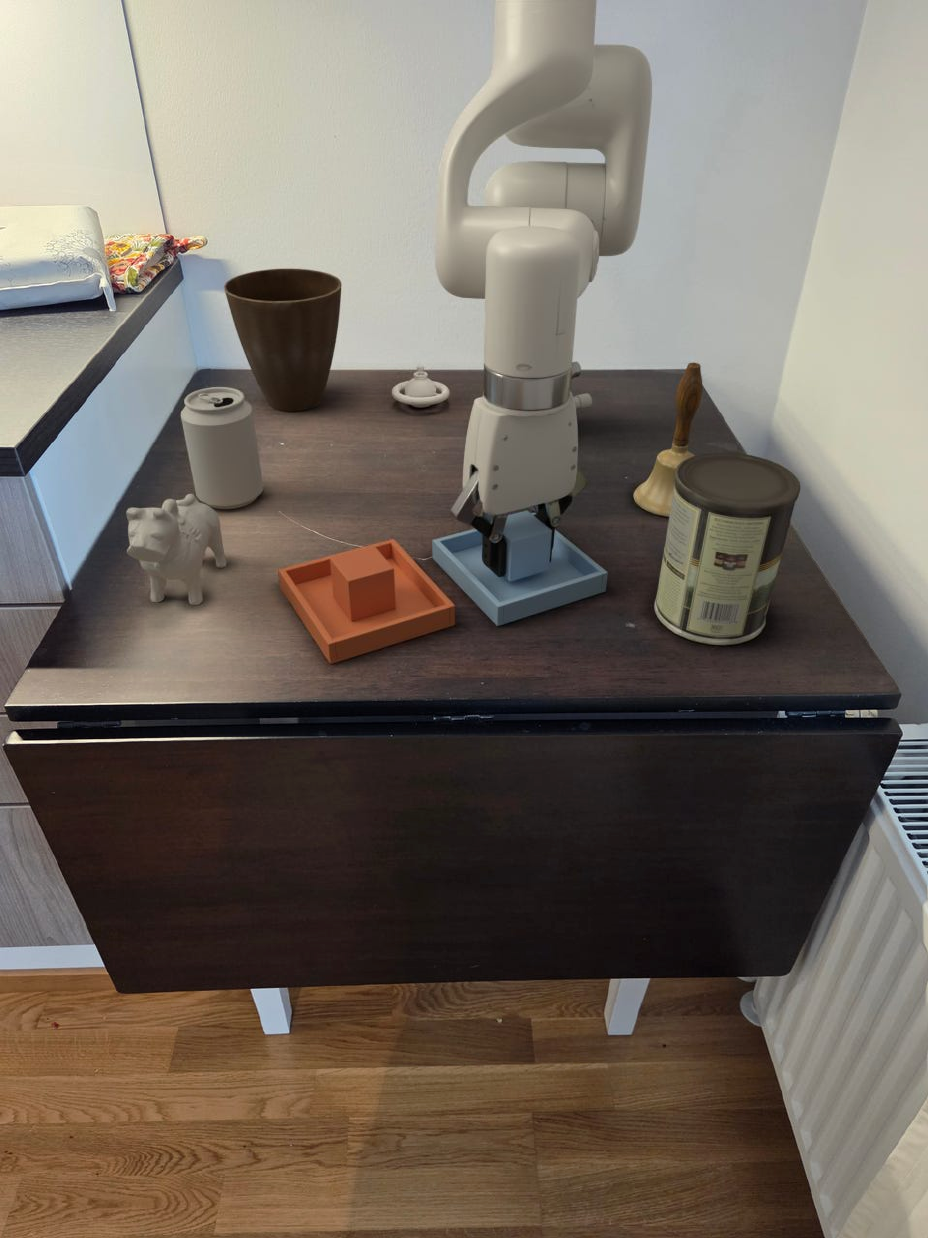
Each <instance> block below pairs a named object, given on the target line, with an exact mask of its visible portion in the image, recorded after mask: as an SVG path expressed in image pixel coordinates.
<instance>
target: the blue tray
mask: <svg viewBox="0 0 928 1238" xmlns="http://www.w3.org/2000/svg"><path fill="white" fill-rule="evenodd" d="M530 513H531V514H532V515H535V514H537V513H536V512H530ZM431 542H432V543H431V545H432V549H431V551H432V559H433V561H435V563H436V564H437V565H438V566H439V567H440V568H441V569H442V570H443V571H444V572H445V573H446V575H448V576H449V578H451V579H452V580H453V581H454V583H455V584H456V585H457V586H458V587H459V588H460V589H461V590H462V591H463V592H464V593H465V594H466V595H467V596H468V597H469V598H470V599H471V600H472V602H473V603H474V604H475V605H476V606H477V607H478V608H479V609H480V610H481V611H482V612H483V613H484V614H485V615H486V616H487V617H488V618H489V619H490V620H491V622H492V623H494V625H495V626H496V627H499V626H500V627H501V626H503V625H506V624H509V623H512V622H516V621H518V620H521V619H524V618H528V617H530V616H533V615H537V614H540V613H543V612H546V611H549V610H553V609H556V608H559V607H561V606H565V605H567V604H571V603H574V602H577V601H580V600H583V599H586V598H590V597H592V596H596V595H599V594H602V593H605V592H607V583H608V574H609V572H608V571H607V570H605V568H603V567H602V566H601V565H599V564H598V563H597V562H596V561H595V560H593V559H592V558H591V557H590V556H589V555H587V554H586V553H584V552H583V551H582V550H581V549H580V548H578V547H577V546H576V545H575V544H574V543H572V542H571V541H570V540H569V539H568V538H566V537H565V536H564V535H563V534H561V533H560V531H558V530H557V529H555V534H554V546H553V549H552V558H551V562H550V563H549V570H547V571H544V572H541V573H537V574H534V575H531V576H527V577H524V578H520V579H517V580H514V581H508V580H507V579H506V578H505V577H504V576H503V577H498V576H497V575H496V574H494V573H493V572H492V571H491V570H490V569H489V568H488V567H487V566H485V564H484V563H483V561H482V534H481V533H480V532H479V531H477V530H476V529H475V528H471V529H469V530H464V531H461V532H457V533H453V534H449V535H446V536H443V537H438V538H435V539H432V540H431Z"/></svg>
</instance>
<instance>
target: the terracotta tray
mask: <svg viewBox="0 0 928 1238" xmlns="http://www.w3.org/2000/svg"><path fill="white" fill-rule="evenodd" d="M371 546H375V547H376V548H377V550H378V551H379V552H380V553H381V554H382V555H383V557H384V558H385V559H386V560H387V561H388V562H389V563H390V565H391V566H392V567H393V568H394V579H395V600H396V609H393V610H390V611H386V612H383V613H379V614H376V615H373V616H369V617H366V618H363V619H359V620H356V621H353V622H352V621H351V620H350V619H349V617H348V616H347V615H346V613H345V612H344V611H343V609H342V608H341V607H340V605H339V604H338V603H337V601H336V600H335V598H334V597H333V587H332V576H331V566H330V557H334V556H337V555H341V554H345V553H349V552H353V551H356V550H360V549H364V548H368V547H371ZM277 573H278V574H277V575H278V581H279V587H280V590H281V591H282V593H283V595H284V596H285V597H286V599H287V600H288V602H289V604H290V605H291V607H292V608H293V609H294V611H295V613H296V614H297V617H299V619H300V620H301V622H302V623H303V625H304V626H305V628H306V629H307V632H308V633H309V634H310V636H311V637H312V638H313V640H314V642H315V643H316V645H317V646H318V648H319V649H320V651H321V652H322V654H323V655H324V657H325V658H326V660H327V661H328V663H329V664H330V665H333V664H336V663H339V662H343V661H346V660H349V659H352V658H356V657H358V656H361V655H364V654H368V653H371V652H374V651H378V650H380V649H384V648H387V647H389V646H393V645H396V644H400V643H402V642H406V641H408V640H413V639H415V638H418V637H421V636H425V635H428V634H431V633H435V632H438V631H441V630H444V629H447V628H451V627H453V626H455V625H456V605H455V604H454V603H453V602H452V600H450V599H449V597H448V596H447V594H445V592H444V591H442V590H441V588H439V587H438V585H437V584H436V583H435V582H434V581H433V580H432V579H431V578H430V577H429V576H428V574H426V572H425V571H424V570H423V569H422V568H421V567H420V566H419V564H418V563H417V562H415V560H414V559H413V558H412V557H411V556H410V555H409V554H408V553H407V551H406V550H405V549H404V548H403V547H402V546H401V545H400V544H399V543H398V542H397V540H395V539H394V538H392V539H389V540H383V541H381V542H376V543H374V544H373V543H372V544H369V545H366V546H361V547H358V548H355V549H350V550H347V551H343V552H339V553H335V554H331V555H328V556H324V557H320V558H316V559H313V560H308V561H305V562H300V563H297V564H293V565H289V566H286V567H282V568H279V569H277Z"/></svg>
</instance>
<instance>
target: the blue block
mask: <svg viewBox="0 0 928 1238" xmlns="http://www.w3.org/2000/svg"><path fill="white" fill-rule="evenodd" d="M531 513H532V512H530V511H529V510H523V511H519V512H515V513H512V514H511V513H510V514H508V517H507V521H506V524H505V528H504V532H503V536H502V538H503V539H504V540H505V541H506V543H507V551H506V573H505V575H504V577H505V578H506V579H507V580H508V581H514V580H517V579H520V578H524V577H527V576H531V575H534V574H537V573H541V572H544V571H547V570H549V561H550V548H551V535H552V530H551V529H549V528H548V527H547V526H546V525H545V524H543V523H542V522H541V521H540V520H538V519H537V518H536V517H535V516H534V515H532V514H531ZM492 520H493V518H492ZM491 524H492V522H491Z"/></svg>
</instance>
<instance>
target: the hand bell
mask: <svg viewBox="0 0 928 1238" xmlns="http://www.w3.org/2000/svg"><path fill="white" fill-rule="evenodd" d="M701 368H702V367H701V364H700V363H698V362H689V363H688V364H687V367H686V369H685V371H684V372H683V374H682V377H681V378H680V380H679V383H678V386H677V389H676V394H675V395H676V396H675V412H676V425H675V429H674V434H673V438H672V444H671V448H670V449H664V450H662V451H660V452H659V453H658V454H657V456H656V460H655V463H654V466H653V469H652V470H651V473H650V475H649V477H648V478H647V479H646V480H645V481H644V482H642V483H641V484H639V486H637V488H635V490H634V492H633V500H634V502H635V504H636V505H638V506H639V508H641V509H642V510H644V511H646V512H648V513H650V514H653V515H657V516H660V517H665V518H669V516H670V510H671V503H672V497H673V491H674V484H675V482H674V475H675V470H676V467H677V466H678V465H679V464H680V463H681V462H682V461H684V460H685V459H687V458H690V457H692V456H695V454H693V453H692V452H690V451H688V448H689V443H690V434H691V428H692V422H693V419H694V417H695V415H696V414H697V412H698V409H699V407H700V404H701V400H702V396H703V386H704V385H703V377H702V371H701V370H702V369H701Z"/></svg>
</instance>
